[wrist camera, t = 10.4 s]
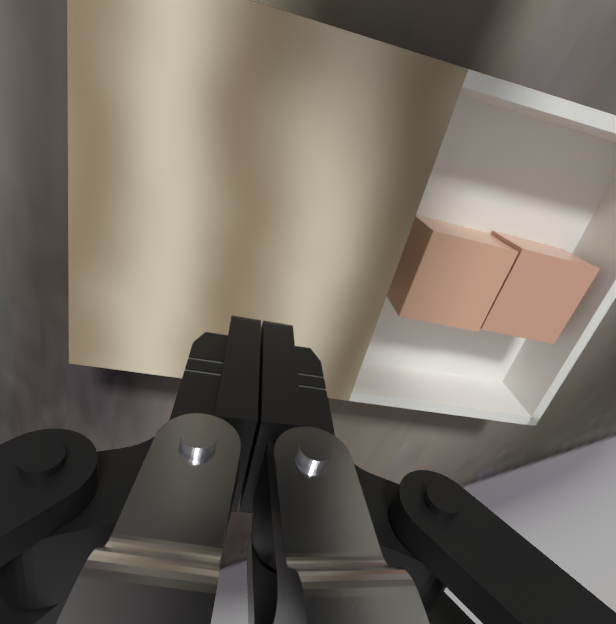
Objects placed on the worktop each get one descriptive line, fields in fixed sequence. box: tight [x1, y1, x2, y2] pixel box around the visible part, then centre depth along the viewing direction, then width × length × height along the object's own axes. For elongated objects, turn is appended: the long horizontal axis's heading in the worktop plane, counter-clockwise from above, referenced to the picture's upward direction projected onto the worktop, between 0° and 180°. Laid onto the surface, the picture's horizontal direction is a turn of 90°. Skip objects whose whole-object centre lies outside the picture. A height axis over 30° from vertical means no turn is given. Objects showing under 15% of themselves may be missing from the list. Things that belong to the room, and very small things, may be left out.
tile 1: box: [387, 215, 518, 332], centre depth 22 cm, size 4×4×3 cm
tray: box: [349, 69, 616, 426], centre depth 22 cm, size 12×16×4 cm
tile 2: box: [480, 230, 600, 344], centre depth 23 cm, size 4×4×3 cm
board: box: [67, 0, 468, 401], centre depth 20 cm, size 14×16×4 cm
